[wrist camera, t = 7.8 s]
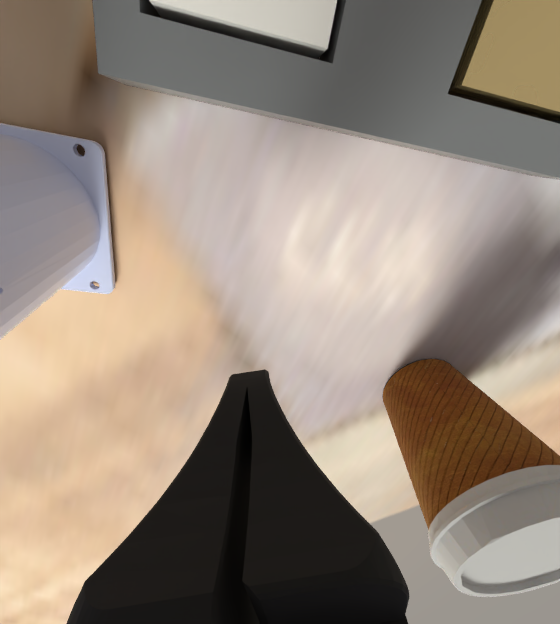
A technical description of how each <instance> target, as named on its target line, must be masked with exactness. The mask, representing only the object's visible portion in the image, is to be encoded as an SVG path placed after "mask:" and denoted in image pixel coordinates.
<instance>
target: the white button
mask: <svg viewBox="0 0 560 624" xmlns="http://www.w3.org/2000/svg"><path fill="white" fill-rule="evenodd" d="M149 1H150V2H151V3H152V5H153V6H154V8H155V9H156V11H157V12H158V13H159V15H160V16H161V18H162V19H166V20H170V21H174V22H177V23H181V24H185V25H189V26H193V27H196V28H200V29H204V30H208V31H211V32H215V33H219V34H223V35H227V36H230V37H234V38H238V39H242V40H245V41H249V42H253V43H257V44H261V45H264V46H268V47H272V48H276V49H279V50H283V51H287V52H291V53H295V54H298V55H302V56H306V57H310V58H313V59H318V58H319V57H320V56H321V55H322V54H323V53H324V52H325V51H326V50H327V49H328V44H329V39H330V34H331V29H332V24H333V19H334V14H335V9H336V4H337V0H149Z"/></svg>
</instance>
